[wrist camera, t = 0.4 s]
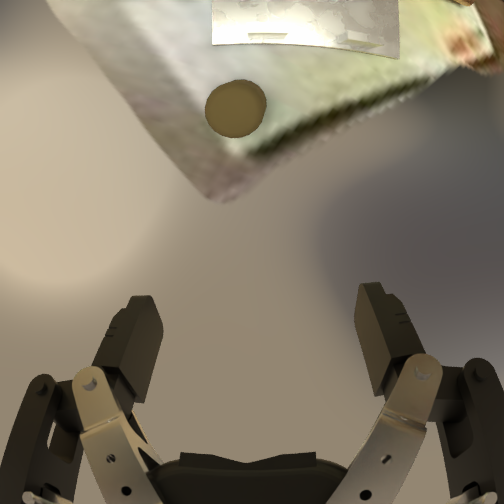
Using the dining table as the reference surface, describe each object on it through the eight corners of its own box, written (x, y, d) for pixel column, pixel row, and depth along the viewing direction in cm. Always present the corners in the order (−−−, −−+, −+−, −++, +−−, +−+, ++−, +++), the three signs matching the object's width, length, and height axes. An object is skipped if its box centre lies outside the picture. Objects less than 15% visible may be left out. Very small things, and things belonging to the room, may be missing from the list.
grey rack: (213, -19, 23) (205, -35, 18) (394, -2, 23) (414, -12, 18) (213, 45, 28) (205, 38, 23) (396, 59, 28) (417, 57, 23)
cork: (277, 102, 32) (285, 110, 22) (242, 137, 34) (235, 160, 25) (239, 69, 30) (230, 62, 20) (204, 106, 32) (182, 115, 23)
